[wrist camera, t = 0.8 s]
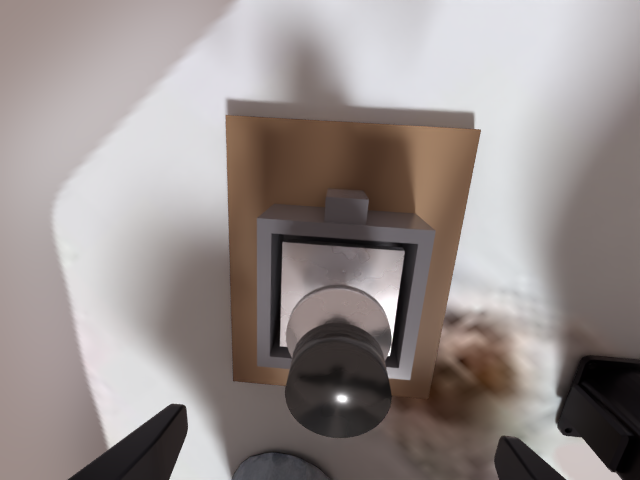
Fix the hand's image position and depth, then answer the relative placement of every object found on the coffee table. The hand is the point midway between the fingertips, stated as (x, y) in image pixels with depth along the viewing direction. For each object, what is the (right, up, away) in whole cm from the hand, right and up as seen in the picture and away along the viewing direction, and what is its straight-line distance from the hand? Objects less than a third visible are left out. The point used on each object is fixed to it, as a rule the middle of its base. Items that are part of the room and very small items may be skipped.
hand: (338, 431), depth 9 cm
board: (+1, +4, +11) cm, 12 cm away
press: (+1, +3, +11) cm, 11 cm away
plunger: (0, +2, +8) cm, 8 cm away
